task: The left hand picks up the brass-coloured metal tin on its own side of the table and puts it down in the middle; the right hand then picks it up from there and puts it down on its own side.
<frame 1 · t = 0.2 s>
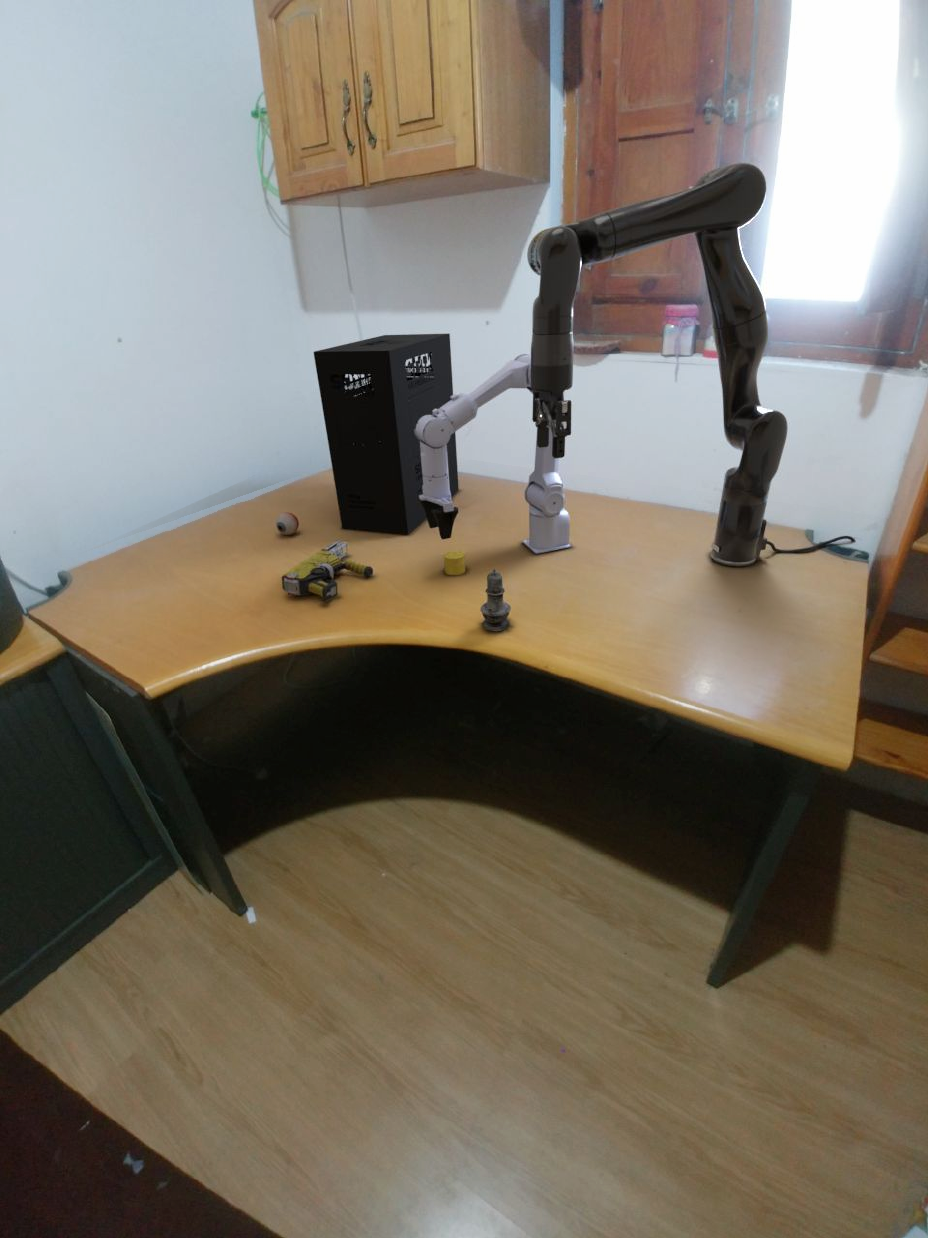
left hand: (440, 532, 137), 9 cm above the table, tool pointing down, fingers open, 7 cm apart
right hand: (550, 451, 115), 29 cm above the table, tool pointing down, fingers open, 8 cm apart
toy gun: (338, 579, 139), on the table
eyeball: (289, 534, 165), on the table
grey tall turned piece: (496, 625, 118), on the table
tin: (455, 570, 140), on the table
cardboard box: (404, 508, 179), on the table
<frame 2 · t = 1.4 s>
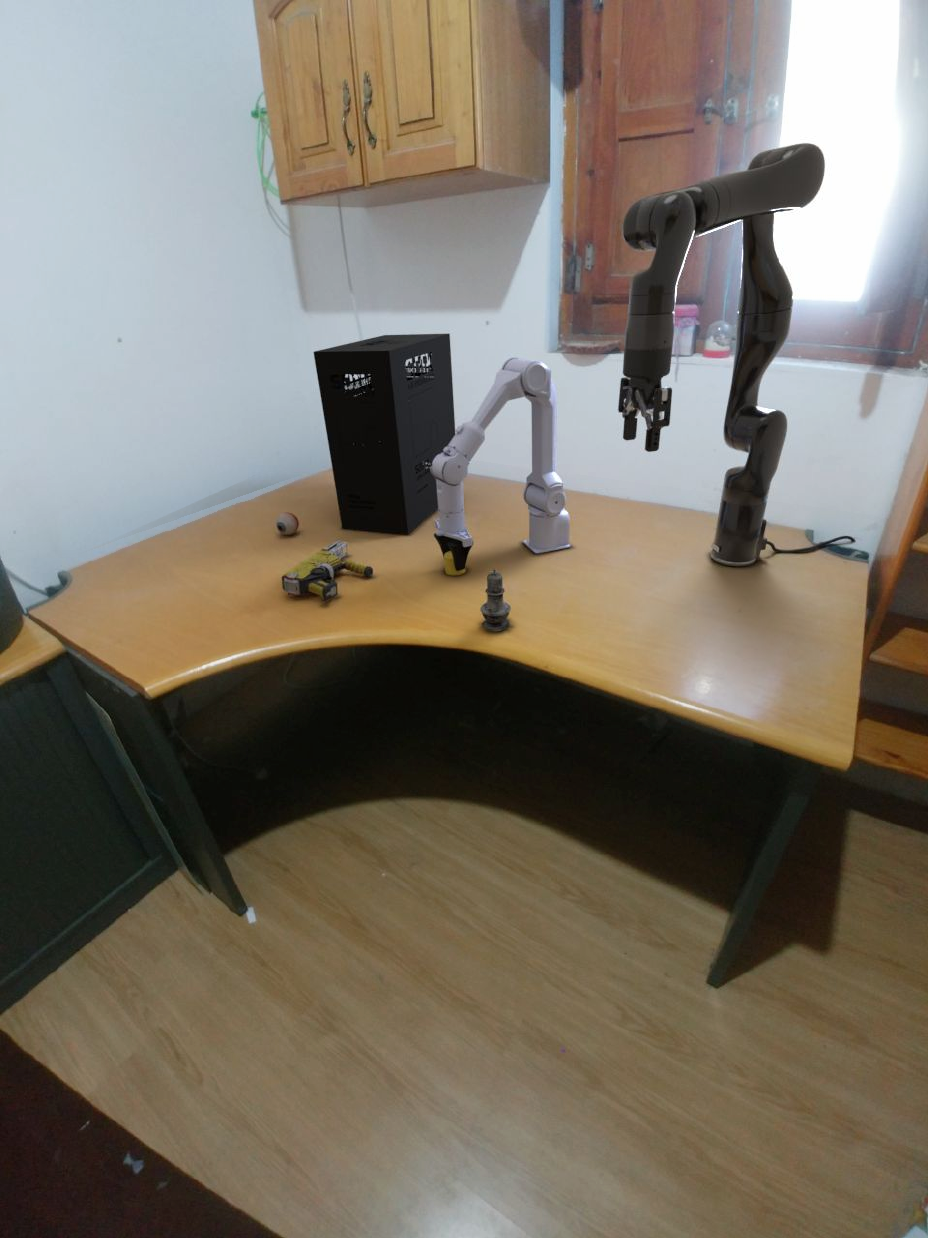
left hand: (454, 565, 139), 1 cm above the table, tool pointing down, fingers closed on tin, 5 cm apart
right hand: (640, 444, 106), 32 cm above the table, tool pointing down, fingers open, 8 cm apart
tin: (455, 571, 140), on the table, touching left hand
everything else where it was.
when the left hand's fingers open (2 cm above the table, at t = 6.6 s): tin stays where it is, on the table.
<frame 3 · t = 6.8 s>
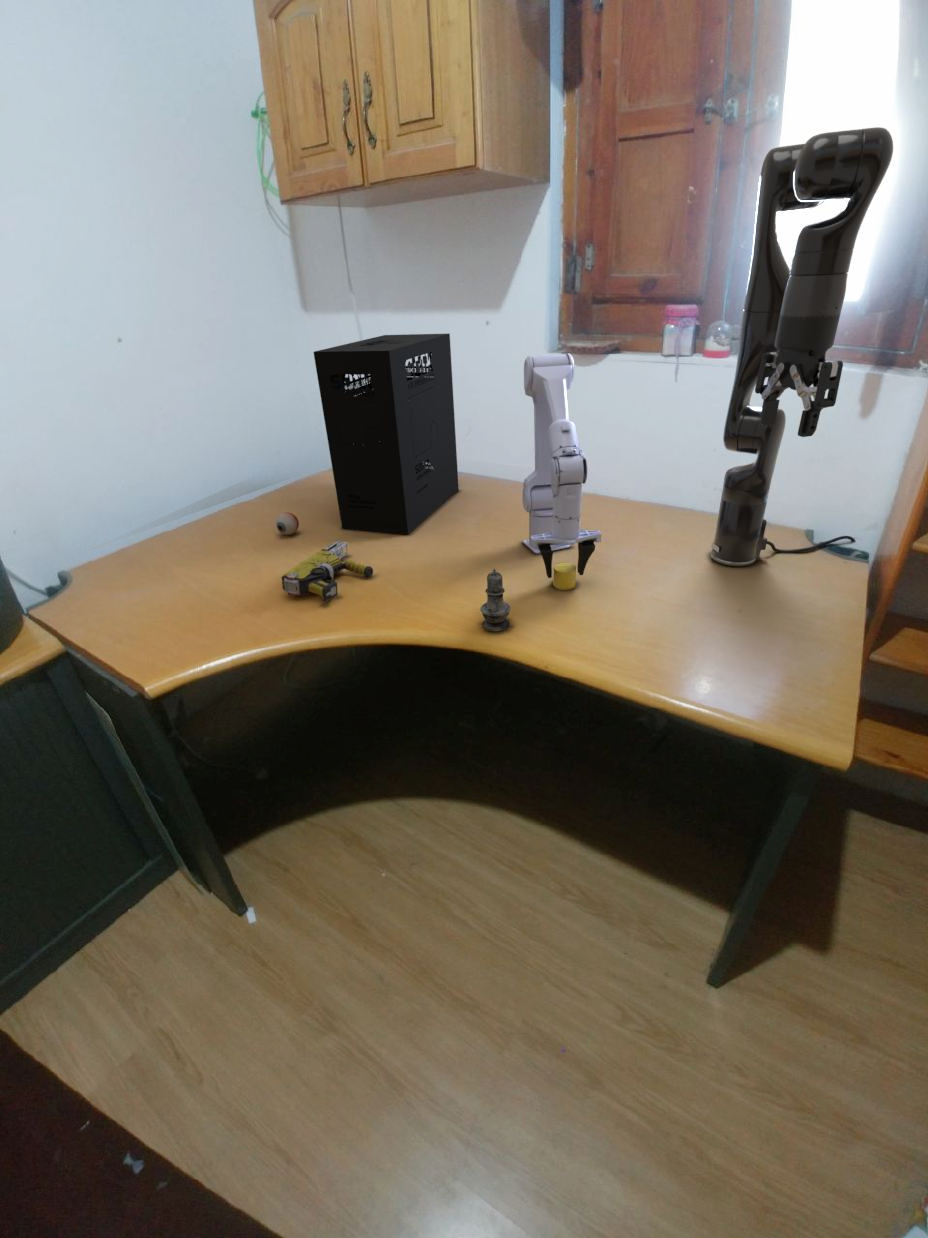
left hand: (564, 574, 130), 2 cm above the table, tool pointing down, fingers open, 6 cm apart
right hand: (785, 429, 92), 36 cm above the table, tool pointing down, fingers open, 8 cm apart
tin: (564, 584, 131), on the table
everything else where it was.
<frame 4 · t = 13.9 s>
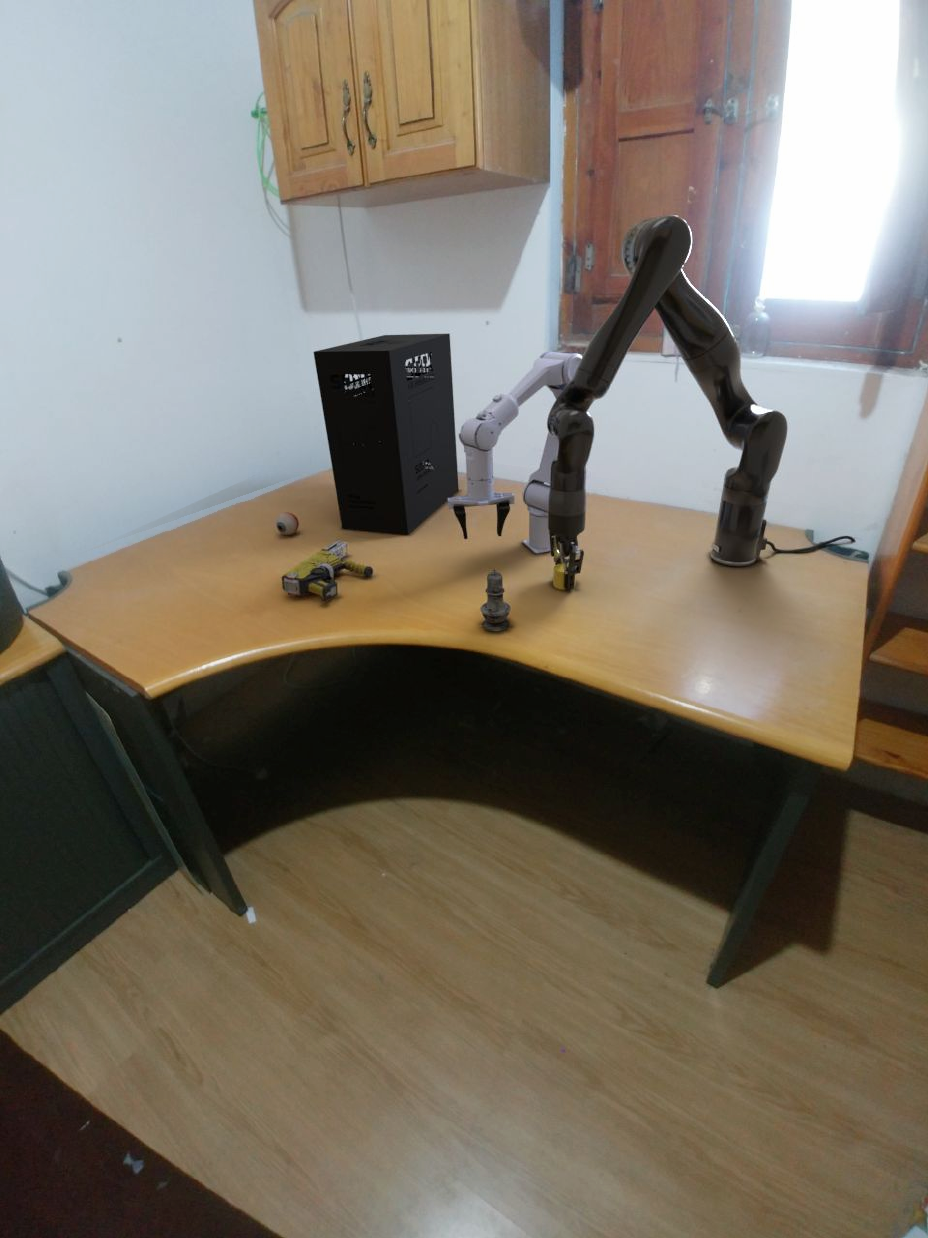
left hand: (482, 536, 136), 8 cm above the table, tool pointing down, fingers open, 7 cm apart
right hand: (564, 582, 131), 0 cm above the table, tool pointing down, fingers closed on tin, 4 cm apart
tin: (564, 584, 131), on the table, touching right hand
everything else where it was.
when the right hand's fingers open (1 cm above the table, at t = 21.2 s): tin stays where it is, on the table.
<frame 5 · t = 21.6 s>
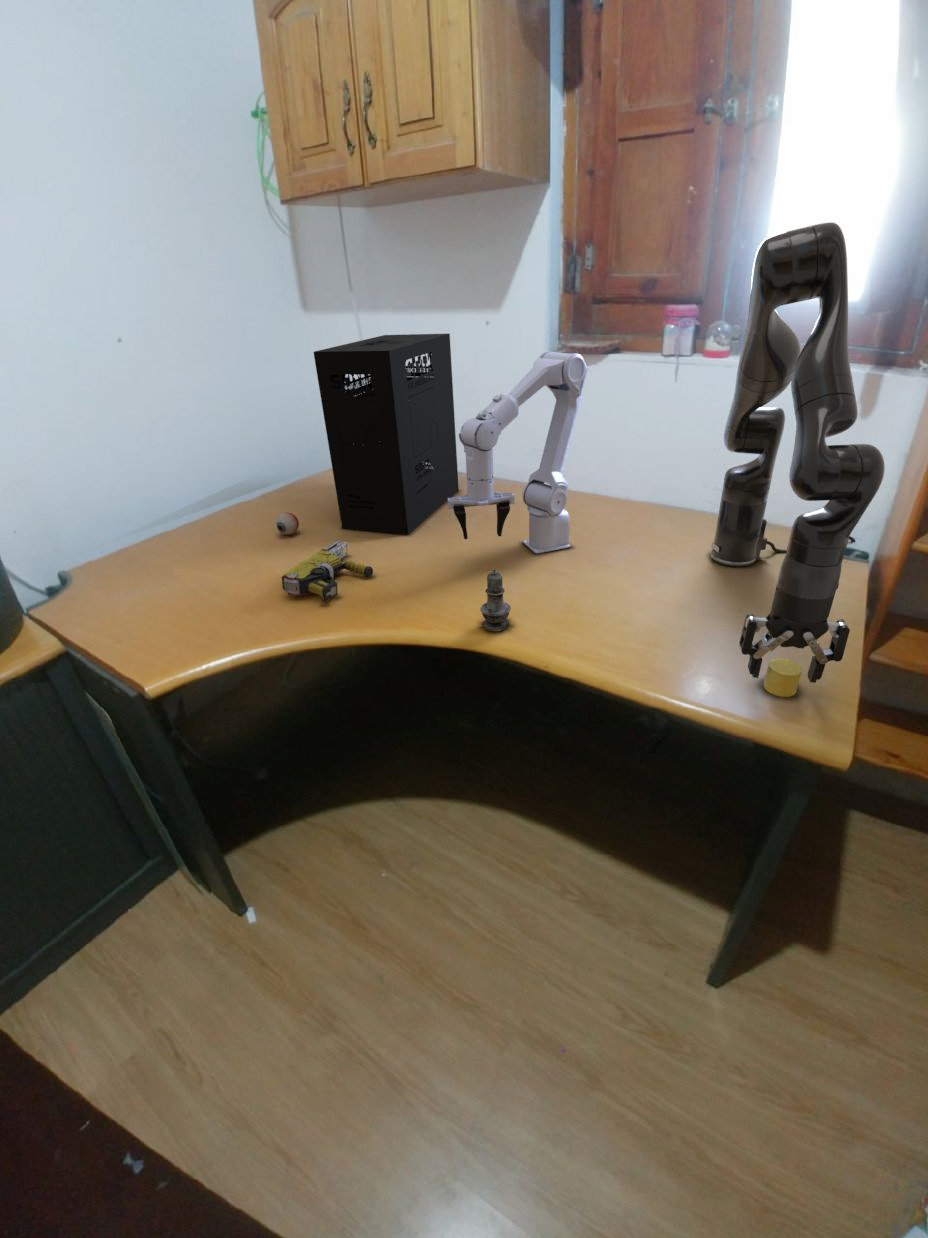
left hand: (482, 536, 136), 8 cm above the table, tool pointing down, fingers open, 7 cm apart
right hand: (782, 677, 95), 2 cm above the table, tool pointing down, fingers open, 8 cm apart
tin: (779, 688, 96), on the table
everything else where it was.
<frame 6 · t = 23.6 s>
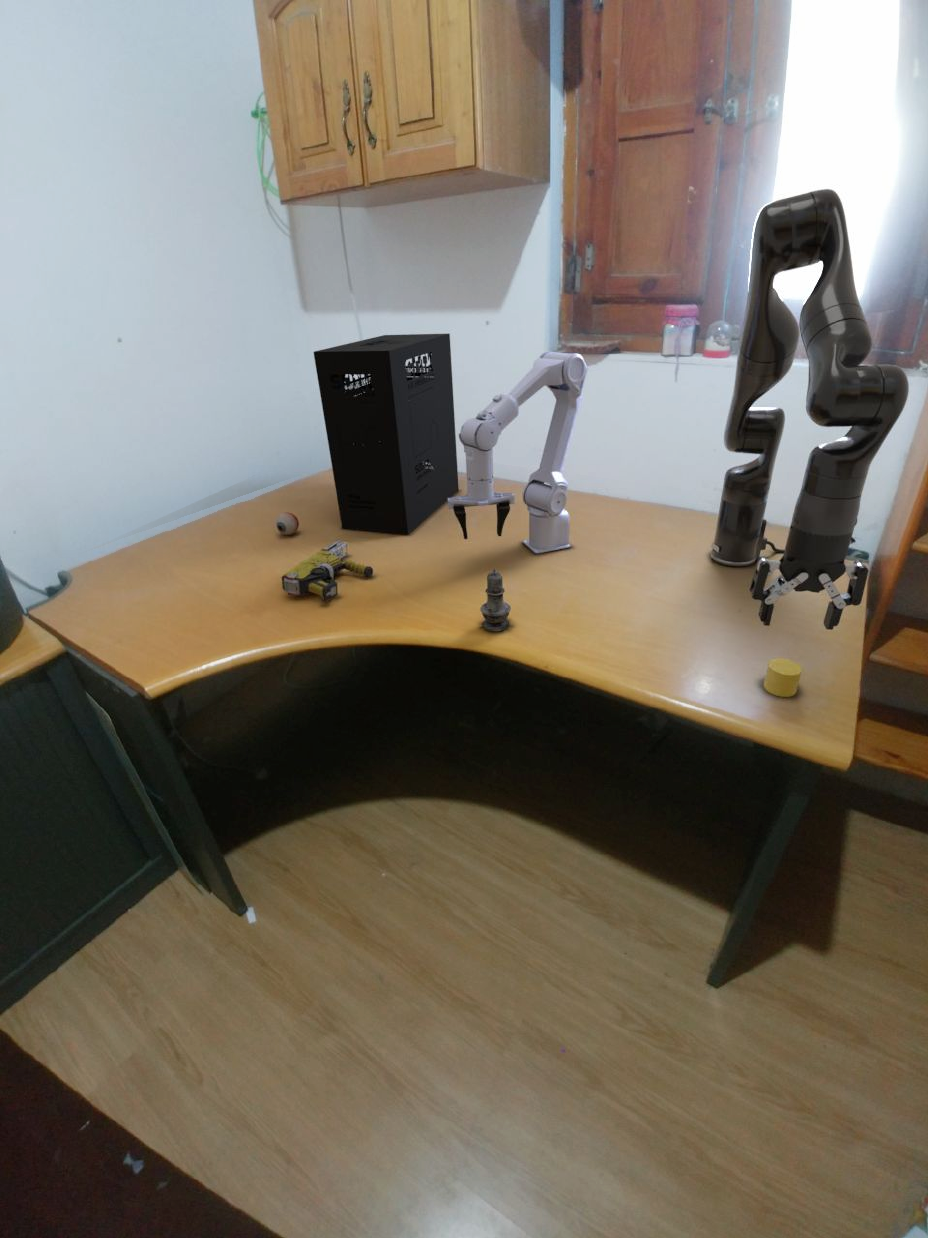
left hand: (482, 536, 136), 8 cm above the table, tool pointing down, fingers open, 7 cm apart
right hand: (795, 625, 90), 12 cm above the table, tool pointing down, fingers open, 8 cm apart
nothing on the table moved.
at the end: tin inside the target area (0.0 cm from its centre), on the table; tin tilted 0°; the two hands never held the tin at the same time; the left hand is holding nothing; the right hand is holding nothing; tin at rest at the end (0.0 cm/s) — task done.
